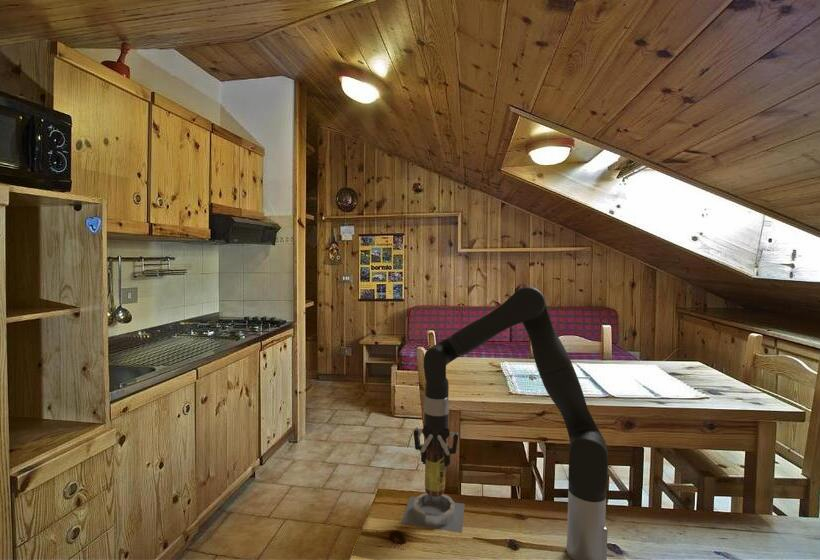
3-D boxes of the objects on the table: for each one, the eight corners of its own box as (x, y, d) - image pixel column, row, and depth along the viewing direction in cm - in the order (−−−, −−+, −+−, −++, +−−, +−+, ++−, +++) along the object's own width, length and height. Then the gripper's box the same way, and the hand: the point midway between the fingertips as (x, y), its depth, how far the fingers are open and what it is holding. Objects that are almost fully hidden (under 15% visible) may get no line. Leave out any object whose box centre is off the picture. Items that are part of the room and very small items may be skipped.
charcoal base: (464, 507, 126) (464, 503, 126) (461, 536, 112) (461, 532, 112) (409, 500, 129) (410, 496, 129) (400, 527, 115) (400, 523, 115)
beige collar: (456, 504, 125) (456, 494, 125) (452, 529, 113) (452, 519, 113) (417, 499, 128) (418, 489, 128) (410, 523, 116) (410, 513, 116)
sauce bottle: (443, 499, 116) (445, 433, 116) (423, 496, 118) (424, 431, 117) (446, 487, 123) (447, 424, 122) (426, 484, 124) (427, 422, 124)
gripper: (461, 408, 122) (459, 461, 122) (415, 404, 125) (414, 456, 125) (459, 417, 115) (457, 473, 115) (411, 412, 117) (410, 467, 118)
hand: (435, 464), depth 120 cm, fingers closed on sauce bottle, 6 cm apart
